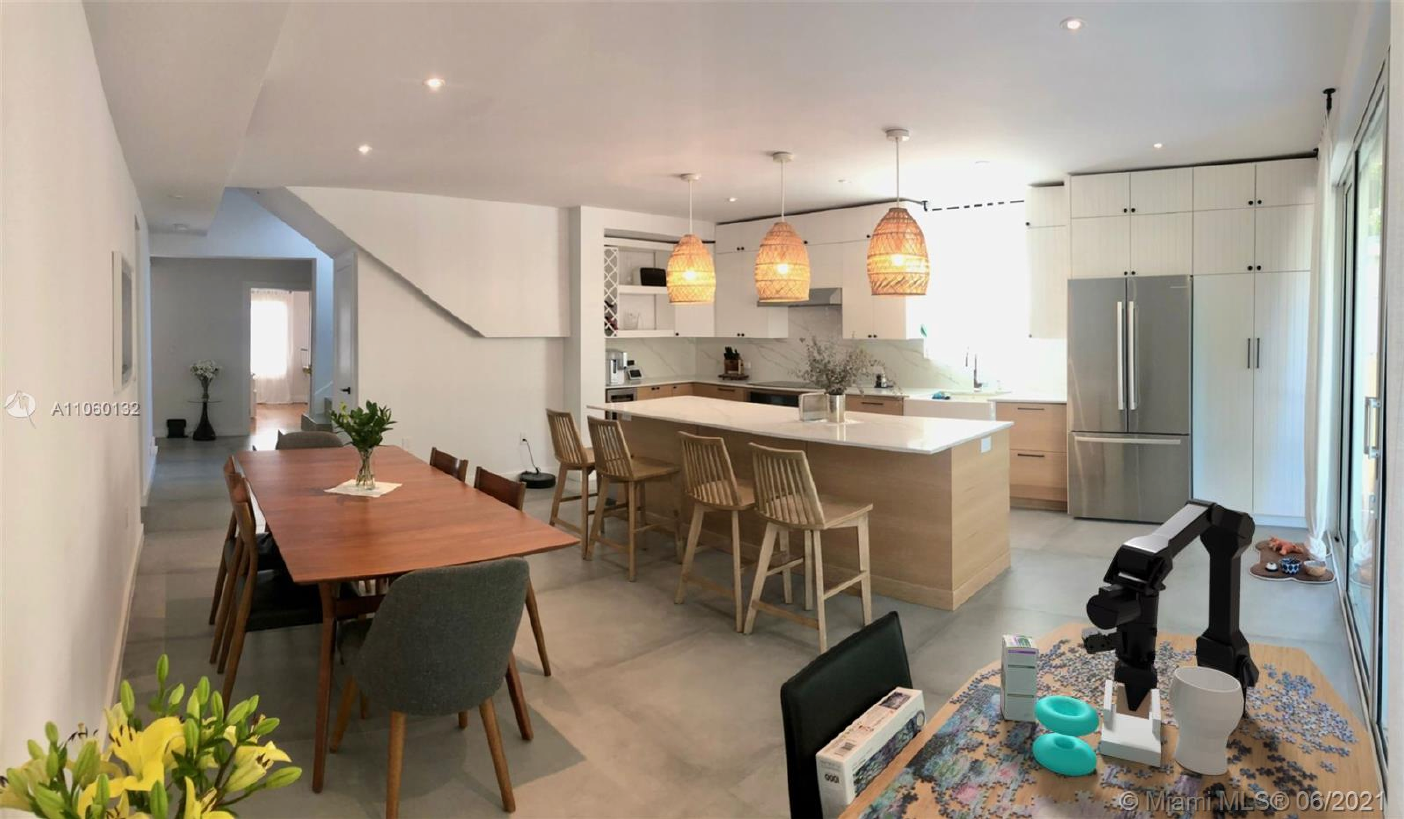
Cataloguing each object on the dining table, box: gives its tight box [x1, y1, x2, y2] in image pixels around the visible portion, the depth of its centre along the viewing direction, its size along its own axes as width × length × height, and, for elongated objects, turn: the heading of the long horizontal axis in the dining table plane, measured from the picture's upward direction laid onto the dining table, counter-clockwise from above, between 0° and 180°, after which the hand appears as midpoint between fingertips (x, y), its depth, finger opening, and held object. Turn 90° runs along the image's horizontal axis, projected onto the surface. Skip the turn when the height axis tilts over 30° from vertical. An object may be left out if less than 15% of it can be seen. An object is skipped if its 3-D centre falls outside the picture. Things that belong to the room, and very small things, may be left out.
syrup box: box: [999, 634, 1039, 723], centre depth 153 cm, size 6×6×14 cm
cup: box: [1168, 665, 1244, 776], centre depth 137 cm, size 11×11×15 cm
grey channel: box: [1099, 678, 1162, 768], centre depth 147 cm, size 9×20×5 cm, turn 152°
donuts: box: [1031, 695, 1100, 777], centre depth 137 cm, size 10×10×10 cm
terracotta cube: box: [1115, 683, 1152, 720], centre depth 140 cm, size 5×5×5 cm
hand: (1132, 704), depth 141 cm, fingers closed on terracotta cube, 5 cm apart
